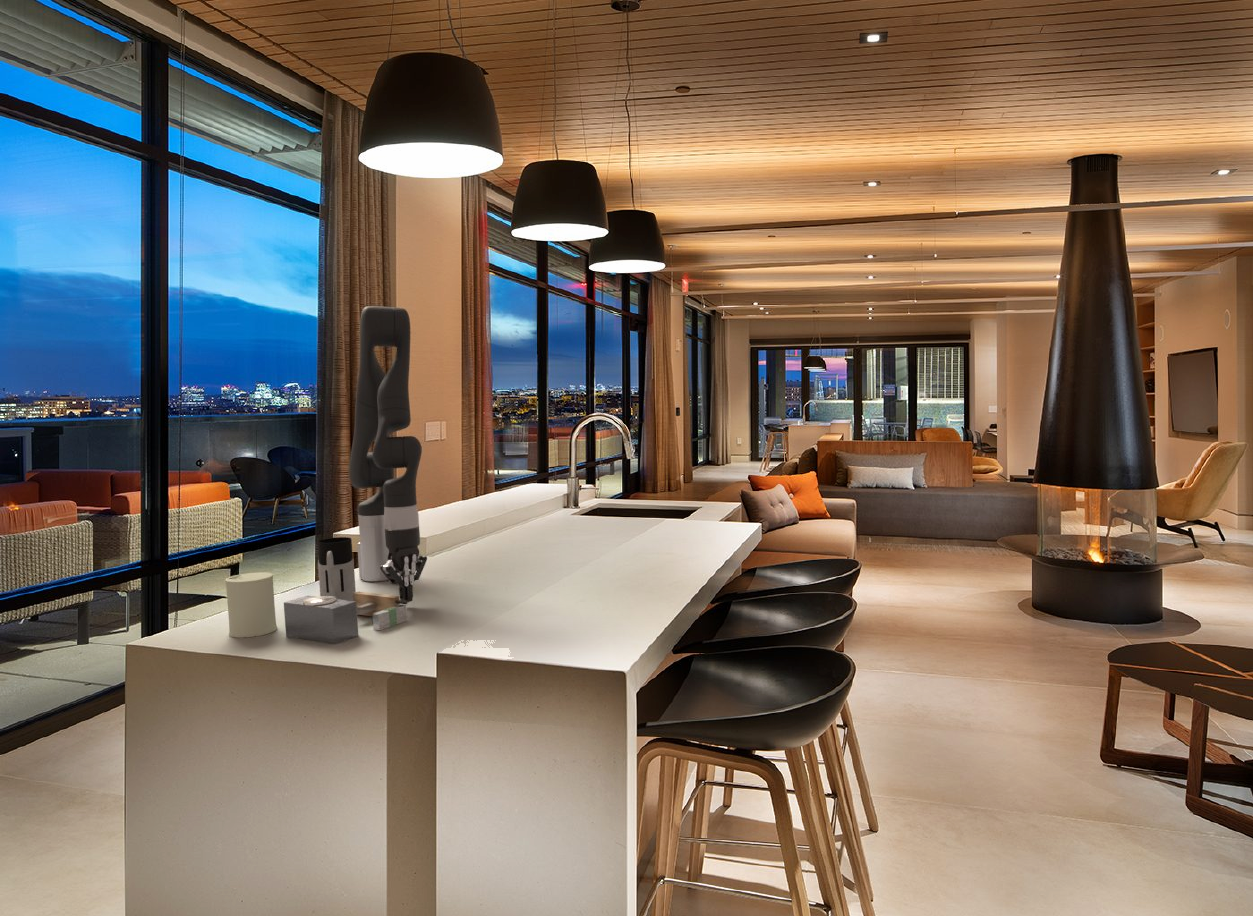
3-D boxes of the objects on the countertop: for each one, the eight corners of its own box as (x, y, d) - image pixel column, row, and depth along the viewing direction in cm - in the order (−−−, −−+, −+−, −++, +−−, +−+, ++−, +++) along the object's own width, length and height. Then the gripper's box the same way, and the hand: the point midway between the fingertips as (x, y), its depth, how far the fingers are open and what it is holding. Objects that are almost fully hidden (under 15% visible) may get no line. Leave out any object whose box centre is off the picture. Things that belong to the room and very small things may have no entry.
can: (238, 626, 182) (234, 571, 181) (283, 624, 183) (279, 568, 182) (221, 639, 173) (217, 580, 172) (268, 636, 174) (264, 578, 173)
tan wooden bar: (340, 618, 184) (338, 597, 184) (359, 611, 189) (358, 591, 189) (390, 625, 177) (389, 603, 177) (410, 618, 182) (408, 597, 182)
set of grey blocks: (285, 636, 173) (282, 600, 173) (355, 613, 189) (353, 580, 189) (338, 644, 166) (336, 607, 165) (407, 620, 182) (405, 586, 181)
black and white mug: (360, 597, 204) (356, 535, 203) (352, 612, 191) (347, 546, 189) (322, 600, 203) (318, 538, 202) (311, 615, 189) (306, 548, 188)
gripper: (410, 520, 199) (414, 593, 201) (367, 529, 188) (372, 607, 189) (434, 521, 196) (439, 596, 197) (393, 531, 184) (398, 610, 186)
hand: (406, 601), depth 193 cm, fingers closed
